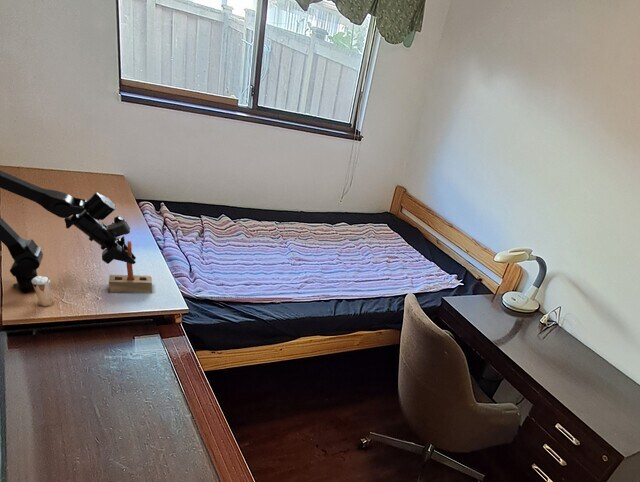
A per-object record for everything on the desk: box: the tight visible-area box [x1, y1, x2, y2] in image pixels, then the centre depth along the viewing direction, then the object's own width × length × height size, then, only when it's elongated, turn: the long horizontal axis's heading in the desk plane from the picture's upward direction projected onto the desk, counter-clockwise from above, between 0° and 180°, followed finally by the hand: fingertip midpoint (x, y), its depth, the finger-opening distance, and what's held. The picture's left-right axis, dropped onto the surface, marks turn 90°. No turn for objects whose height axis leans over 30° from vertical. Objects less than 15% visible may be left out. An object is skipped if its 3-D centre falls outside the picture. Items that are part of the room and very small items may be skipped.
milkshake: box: [31, 275, 53, 307], centre depth 140 cm, size 4×5×10 cm
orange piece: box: [125, 240, 134, 280], centre depth 154 cm, size 2×4×14 cm, turn 23°
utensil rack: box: [108, 274, 153, 294], centre depth 159 cm, size 5×13×4 cm, turn 113°
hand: (134, 261), depth 155 cm, fingers closed on orange piece, 3 cm apart
